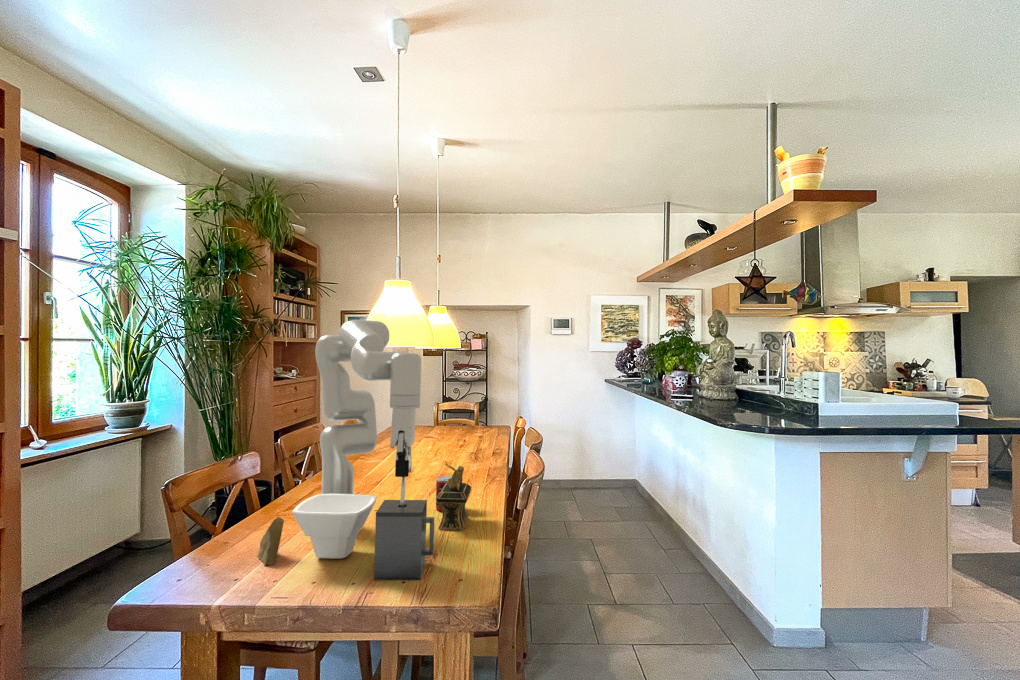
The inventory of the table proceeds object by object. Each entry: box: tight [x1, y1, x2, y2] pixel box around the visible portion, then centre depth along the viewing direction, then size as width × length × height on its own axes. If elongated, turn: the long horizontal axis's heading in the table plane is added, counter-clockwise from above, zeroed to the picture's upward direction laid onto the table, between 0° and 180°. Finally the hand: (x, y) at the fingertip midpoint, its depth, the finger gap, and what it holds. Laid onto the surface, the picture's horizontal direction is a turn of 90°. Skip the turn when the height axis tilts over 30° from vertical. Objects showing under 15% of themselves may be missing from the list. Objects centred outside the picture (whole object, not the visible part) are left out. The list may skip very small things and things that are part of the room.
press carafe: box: [373, 499, 435, 581], centre depth 129 cm, size 14×11×16 cm
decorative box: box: [435, 460, 472, 531], centre depth 165 cm, size 20×10×20 cm, turn 179°
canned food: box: [435, 475, 452, 513], centre depth 181 cm, size 8×8×11 cm
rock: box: [257, 516, 285, 566], centre depth 135 cm, size 11×9×10 cm
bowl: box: [291, 493, 377, 559], centre depth 138 cm, size 19×19×14 cm
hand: (403, 473), depth 130 cm, fingers closed on plunger, 4 cm apart
